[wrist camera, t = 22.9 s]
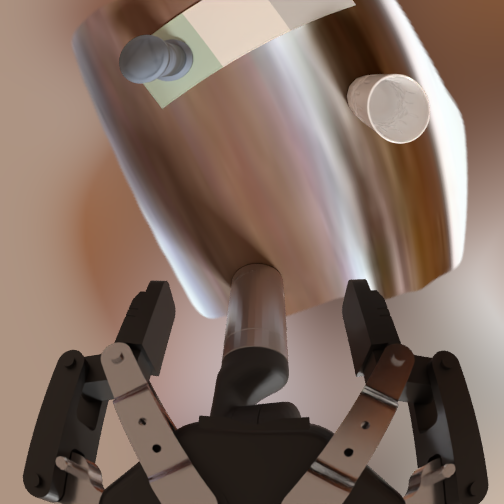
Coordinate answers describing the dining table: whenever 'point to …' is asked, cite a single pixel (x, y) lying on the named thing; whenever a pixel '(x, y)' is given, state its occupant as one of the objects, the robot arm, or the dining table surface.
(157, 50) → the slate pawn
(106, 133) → the dining table surface
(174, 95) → the game track
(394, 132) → the white cup
